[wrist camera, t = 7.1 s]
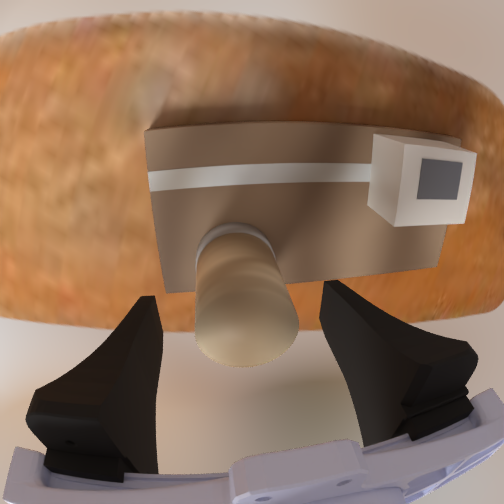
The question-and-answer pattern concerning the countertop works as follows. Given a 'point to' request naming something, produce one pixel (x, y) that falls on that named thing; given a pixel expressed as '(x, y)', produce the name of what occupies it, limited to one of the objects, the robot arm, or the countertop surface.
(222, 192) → the board
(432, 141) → the block
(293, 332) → the tan rounded cylinder
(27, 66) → the countertop surface
